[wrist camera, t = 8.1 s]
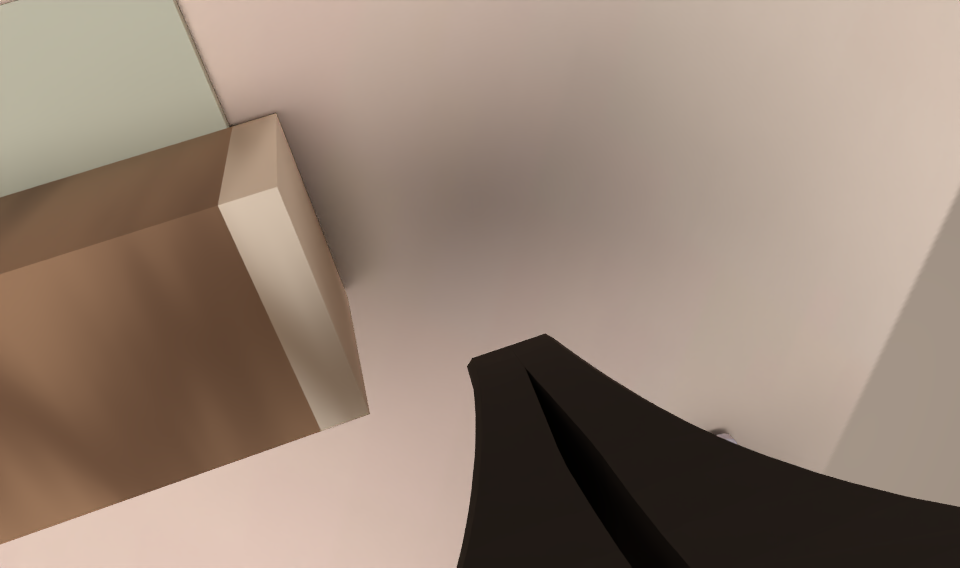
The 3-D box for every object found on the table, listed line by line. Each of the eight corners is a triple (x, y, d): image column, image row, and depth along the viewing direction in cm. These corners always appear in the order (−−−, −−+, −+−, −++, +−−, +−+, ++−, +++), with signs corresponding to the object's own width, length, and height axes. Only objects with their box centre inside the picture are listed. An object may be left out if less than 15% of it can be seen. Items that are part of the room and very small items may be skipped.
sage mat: (348, 405, 21) (349, 414, 20) (-7, 530, 20) (-12, 541, 19) (159, -40, 15) (156, -38, 14) (-362, 106, 14) (-379, 111, 13)
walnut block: (369, 414, 15) (-93, 576, 14) (347, 297, 19) (-5, 416, 18) (276, 186, 12) (-297, 368, 11) (276, 112, 16) (-138, 239, 15)
